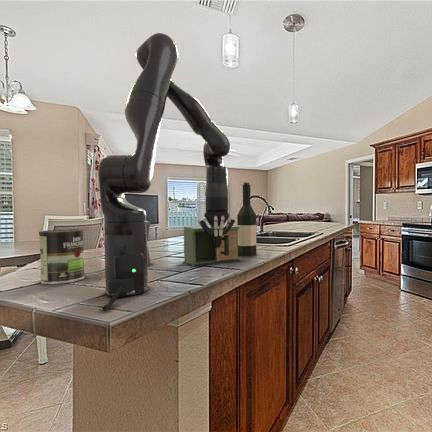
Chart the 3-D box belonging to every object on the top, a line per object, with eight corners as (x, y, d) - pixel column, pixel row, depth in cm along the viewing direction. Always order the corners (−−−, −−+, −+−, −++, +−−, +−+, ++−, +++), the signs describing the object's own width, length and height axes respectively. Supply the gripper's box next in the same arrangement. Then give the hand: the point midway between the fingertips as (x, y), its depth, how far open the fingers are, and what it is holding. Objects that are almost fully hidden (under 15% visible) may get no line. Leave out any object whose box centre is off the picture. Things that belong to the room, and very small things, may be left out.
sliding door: (243, 261, 114) (243, 231, 114) (222, 263, 110) (222, 232, 109) (236, 258, 119) (235, 230, 119) (216, 260, 115) (215, 231, 114)
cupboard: (239, 261, 119) (239, 226, 118) (194, 266, 109) (193, 228, 109) (227, 257, 128) (226, 224, 128) (184, 261, 118) (183, 226, 118)
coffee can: (93, 276, 95) (92, 229, 95) (62, 285, 85) (60, 232, 84) (64, 275, 97) (62, 228, 97) (30, 283, 87) (28, 231, 87)
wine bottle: (234, 254, 136) (233, 183, 135) (252, 252, 140) (252, 183, 139) (241, 256, 129) (240, 181, 127) (260, 255, 133) (259, 182, 131)
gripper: (201, 195, 102) (202, 250, 102) (239, 196, 109) (239, 247, 110) (193, 196, 108) (194, 247, 108) (230, 196, 115) (230, 244, 116)
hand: (217, 247), depth 109 cm, fingers closed
